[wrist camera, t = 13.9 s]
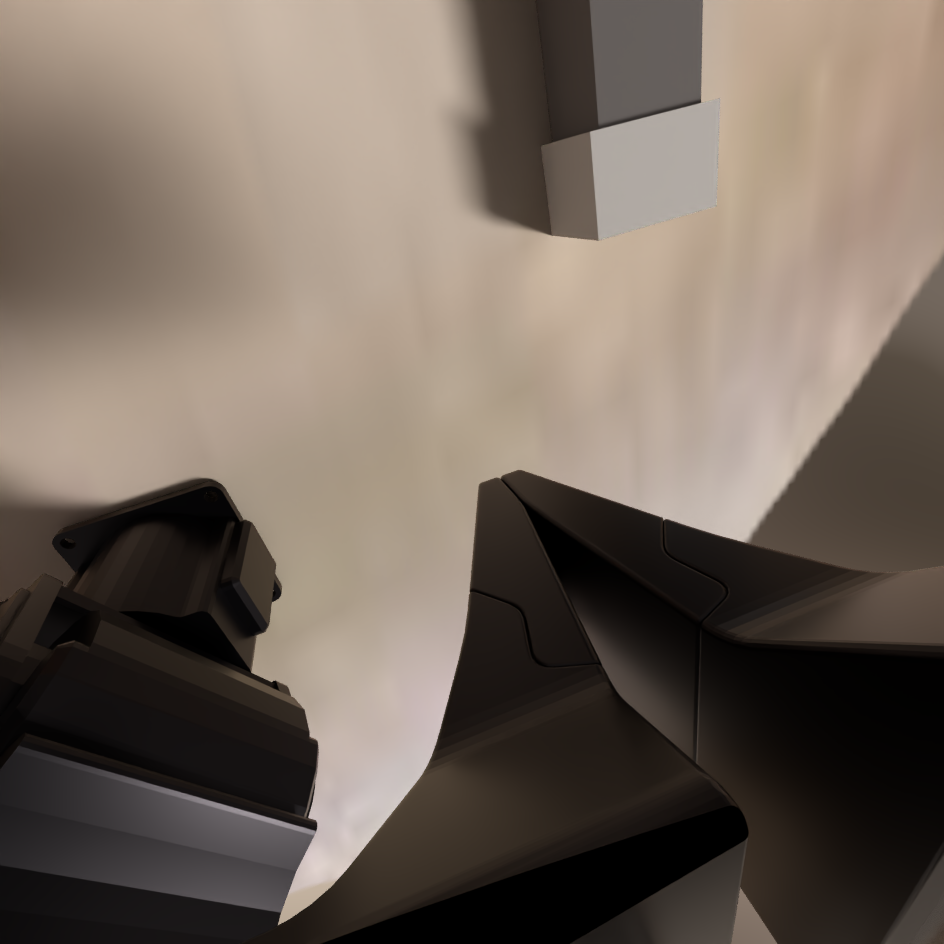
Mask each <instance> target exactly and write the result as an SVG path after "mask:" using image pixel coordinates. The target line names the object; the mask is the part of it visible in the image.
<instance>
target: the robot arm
mask: <svg viewBox="0 0 944 944" xmlns="http://www.w3.org/2000/svg"><path fill="white" fill-rule="evenodd" d="M209 491H212V492H215V493H216V494H217V495H218V496H217V497H209V496H208V495H207V494H206V492H209ZM65 538H70V539H73V540H74V541H75V542H76V543H70V542H68V541H66V540H65ZM52 544H53V546H54V548H55V549H56V550H57V551H58V553H59V554H60V555H61V556H62V557H63V558H64V559H65V561H66V562H67V563H68V564H69V565H70V566H71V568H72V569H73V570H74V571H75V572H76V573H75V574H74V576H73V577H72V579H71V580H70V582H69V583H68V585H67V586H66V587H63V586H62V584H63V582H62V581H60V580H58V579H55V578H53V577H51V576H49V575H47V574H45V573H44V574H42V575H41V576H40V577H39V578H38V579H37V580H36V581H35V582H34V583H33V584H32V585H31V586H30V587H29V588H28V589H27V590H25V589H23V588H21V589H20V590H19V591H17V592H16V593H15V594H14V595H13V596H12V597H11V598H10V599H6V600H5V601H4V602H0V944H731V942H732V935H733V928H734V923H735V916H736V910H737V904H738V898H739V891H740V887H741V889H742V891H743V892H744V894H745V895H746V897H747V898H748V900H749V901H750V903H751V904H752V905H753V907H754V909H755V910H756V912H757V913H758V915H759V916H760V918H761V919H762V921H763V922H764V924H765V925H766V927H767V928H768V930H769V932H770V933H771V935H772V936H773V937H774V939H775V941H776V942H777V944H944V566H940V567H934V568H927V569H921V570H915V571H906V572H870V571H862V570H855V569H849V568H845V567H840V566H836V565H832V564H828V563H824V562H820V561H816V560H812V559H807V558H804V557H800V556H796V555H792V554H788V553H784V552H780V551H776V550H772V549H768V548H764V547H760V546H756V545H752V544H748V543H745V542H741V541H737V540H733V539H730V538H726V537H722V536H719V535H715V534H712V533H709V532H705V531H702V530H699V529H696V528H693V527H689V526H686V525H683V524H680V523H677V522H674V521H671V520H668V519H665V520H663V518H662V517H659V516H656V515H653V514H650V513H647V512H644V511H641V510H638V509H635V508H632V507H629V506H626V505H623V504H620V503H617V502H614V501H611V500H609V499H606V498H603V497H600V496H597V495H594V494H591V493H588V492H585V491H582V490H579V489H576V488H573V487H570V486H567V485H564V484H561V483H558V482H555V481H552V480H549V479H546V478H543V477H540V476H537V475H534V474H531V473H528V472H525V471H522V470H517V471H514V472H511V473H508V474H505V475H503V476H502V477H501V479H500V478H494V479H491V480H488V481H485V482H482V483H480V484H479V489H478V501H477V512H476V524H475V535H474V547H473V559H472V570H471V582H470V594H469V602H468V612H467V619H466V627H465V634H464V638H463V643H462V647H461V652H460V656H459V661H458V664H457V668H456V672H455V676H454V680H453V683H452V687H451V691H450V695H449V699H448V702H447V706H446V710H445V714H444V718H443V721H442V725H441V729H440V733H439V736H438V739H437V743H436V746H435V749H434V751H433V754H432V757H431V759H430V761H429V763H428V765H427V767H426V769H425V771H424V773H423V774H422V776H421V777H420V779H419V780H418V781H417V782H416V784H415V785H414V786H413V787H412V789H411V790H410V791H409V792H408V794H407V795H406V796H405V797H404V799H403V800H402V801H401V803H400V804H399V805H398V806H397V808H396V809H395V810H394V811H393V813H392V814H391V815H390V816H389V818H388V819H387V820H386V821H385V823H384V824H383V825H382V826H381V828H380V829H379V830H378V831H377V833H376V834H375V835H374V836H373V838H372V839H371V840H370V841H369V843H368V844H367V845H366V846H365V848H364V849H363V850H362V852H361V853H360V854H359V855H358V857H357V858H356V859H355V860H354V862H353V863H352V864H351V865H350V867H349V868H348V869H347V870H346V871H345V872H344V874H343V875H342V876H341V877H340V878H339V879H338V880H337V881H336V882H335V883H334V885H333V886H332V887H331V888H330V889H328V890H327V891H326V892H325V893H324V894H323V895H321V896H320V897H319V898H318V899H317V900H316V901H315V902H313V903H312V904H311V905H310V906H308V907H307V908H305V909H304V910H302V911H301V912H299V913H298V914H297V915H295V916H294V917H292V918H291V919H289V920H287V921H286V922H284V923H282V924H280V925H278V922H279V918H280V914H281V911H282V908H283V906H284V903H285V900H286V898H287V895H288V892H289V889H290V887H291V884H292V881H293V879H294V876H295V873H296V871H297V869H298V867H299V865H300V863H301V861H302V859H303V857H304V855H305V853H306V851H307V849H308V847H309V845H310V843H311V841H312V839H313V837H314V835H315V833H316V830H317V822H316V820H313V819H309V818H308V816H309V813H310V809H311V806H312V802H313V796H314V789H315V780H316V775H317V768H318V755H319V749H318V741H317V740H316V739H314V738H311V737H309V728H308V724H307V719H306V715H305V710H304V709H303V708H302V706H301V705H300V704H299V703H298V702H297V701H296V700H295V698H293V697H291V694H290V691H289V689H288V687H287V686H286V685H284V684H282V683H279V682H277V681H273V682H270V681H268V680H266V679H263V678H261V677H259V676H257V675H255V674H253V673H251V671H252V664H253V657H254V650H255V643H256V636H257V635H259V634H262V633H264V632H266V630H267V628H268V626H269V622H270V613H271V604H272V602H273V601H276V600H277V599H279V598H280V596H281V592H282V586H281V583H280V581H279V580H278V578H277V576H276V575H275V569H276V563H275V561H274V559H273V558H272V556H271V554H270V552H269V551H268V549H267V547H266V546H265V544H264V542H263V540H262V539H261V537H260V535H259V533H258V532H257V530H256V528H255V526H254V525H253V523H252V522H250V521H248V520H243V518H242V516H241V515H240V513H239V511H238V509H237V508H236V506H235V504H234V503H233V501H232V499H231V497H230V496H229V494H228V492H227V491H226V489H225V487H224V486H223V485H222V484H220V483H218V482H214V481H210V482H205V483H202V484H199V485H196V486H193V487H190V488H186V489H183V490H180V491H177V492H174V493H171V494H168V495H165V496H162V497H159V498H155V499H152V500H149V501H146V502H143V503H140V504H137V505H134V506H131V507H128V508H125V509H121V510H118V511H115V512H112V513H109V514H106V515H103V516H100V517H97V518H94V519H91V520H87V521H84V522H81V523H78V524H75V525H72V526H69V527H66V528H63V529H61V530H60V531H59V532H58V533H57V534H56V536H55V537H54V538H53V541H52ZM273 590H274V591H273Z"/></svg>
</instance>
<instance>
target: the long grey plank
mask: <svg viewBox="0 0 944 944" xmlns="http://www.w3.org/2000/svg"><path fill="white" fill-rule="evenodd" d="M536 5H537V14H538V22H539V31H540V40H541V49H542V58H543V66H544V75H545V84H546V93H547V102H548V110H549V119H550V128H551V137H552V143H549V144H546V145H542V146H541V152H542V160H543V168H544V176H545V184H546V192H547V200H548V209H549V217H550V225H551V233H552V236H561V237H570V238H580V239H589V240H598V241H599V240H602V239H606V238H609V237H613V236H616V235H619V234H623V233H626V232H630V231H633V230H637V229H640V228H644V227H647V226H650V225H654V224H657V223H661V222H664V221H668V220H671V219H675V218H678V217H682V216H685V215H688V214H692V213H695V212H699V211H702V210H706V209H709V208H713V207H716V206H717V179H718V150H719V121H720V98H718V99H715V100H711V101H707V102H703V103H701V68H702V11H703V0H536Z"/></svg>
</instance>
